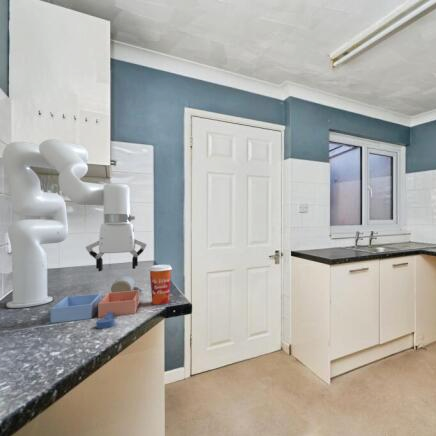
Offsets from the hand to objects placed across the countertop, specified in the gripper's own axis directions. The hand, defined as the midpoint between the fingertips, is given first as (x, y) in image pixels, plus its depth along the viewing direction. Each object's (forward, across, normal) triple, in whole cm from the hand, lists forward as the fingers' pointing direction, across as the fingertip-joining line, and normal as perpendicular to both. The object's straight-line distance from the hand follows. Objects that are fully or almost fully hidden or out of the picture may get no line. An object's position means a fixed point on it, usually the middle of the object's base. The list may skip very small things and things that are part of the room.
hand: (117, 269), depth 107 cm
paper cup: (+15, -13, -6) cm, 21 cm away
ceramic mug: (+15, 0, -25) cm, 29 cm away
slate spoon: (+15, +2, +11) cm, 19 cm away
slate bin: (+14, +12, -4) cm, 19 cm away
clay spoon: (+14, 0, -4) cm, 15 cm away
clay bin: (+15, 0, -4) cm, 15 cm away
